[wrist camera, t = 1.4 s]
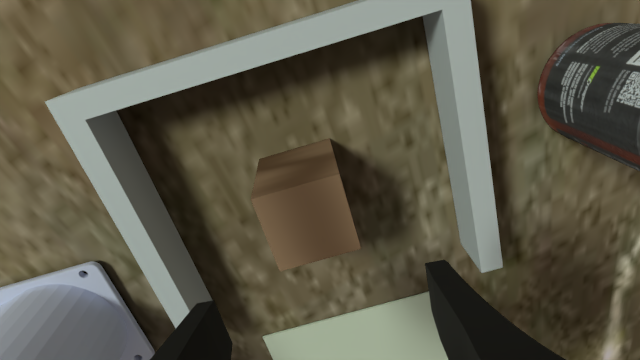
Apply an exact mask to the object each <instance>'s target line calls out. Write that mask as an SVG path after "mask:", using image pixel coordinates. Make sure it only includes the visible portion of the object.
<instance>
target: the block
mask: <svg viewBox="0 0 640 360" xmlns="http://www.w3.org/2000/svg"><path fill="white" fill-rule="evenodd" d="M251 201H252V204H253V206H254V209H255V211H256V214H257V216H258V218H259V221H260V223H261V226H262V228H263V231H264V233H265V236H266V238H267V241H268V243H269V246H270V248H271V251H272V253H273V255H274V258H275V260H276V263H277V265H278V268H279V270H280V271H283V270H286V269H290V268H294V267H297V266H301V265H304V264H308V263H312V262H315V261H319V260H322V259H326V258H330V257H333V256H337V255H340V254H344V253H347V252H351V251H355V250H358V249H361V246H360V243H359V239H358V236H357V232H356V228H355V225H354V221H353V218H352V214H351V210H350V207H349V203H348V200H347V196H346V193H345V190H344V186H343V183H342V179H341V176H340V172H339V169H338V166H337V162H336V159H335V155H334V152H333V149H332V145H331V142H330V138H329V139H326V140H322V141H319V142H315V143H312V144H309V145H305V146H302V147H298V148H295V149H292V150H288V151H285V152H282V153H278V154H275V155H271V156H268V157H265V158H261V159H259V163H258V168H257V173H256V177H255V182H254V187H253V191H252V196H251Z"/></svg>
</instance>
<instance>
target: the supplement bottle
mask: <svg viewBox="0 0 640 360" xmlns="http://www.w3.org/2000/svg"><path fill="white" fill-rule="evenodd" d="M537 95H538V104H539V108H540V111H541V113H542V116H543V118H544V119H545V121H546V122H547V123H548V125H549V126H550V127H551V128H552V129H554V130H555V131H557V132H559V133H560V134H562V135H564V136H566V137H567V138H569V139H572V140H574V141H576V142H578V143H580V144H582V145H585V146H587V147H589V148H591V149H593V150H595V151H597V152H600V153H602V154H604V155H606V156H608V157H610V158H612V159H614V160H617V161H619V162H621V163H623V164H625V165H628V166H630V167H632V168H634V169H636V170H638V171H640V24H630V23H604V24H598V25H594V26H591V27H588V28H585V29H583V30H581V31H579V32H577V33H576V34H574V35H572V36H571V37H569V38H568V39H567V40H565V41H564V42H563V43H562V44H561V45H560V46H559V47H558V48H557V49H556V50H555V52H554V53H553V54H552V56H551V57H550V58H549V60H548V62H547V63H546V65H545V67H544V69H543V72H542V74H541V77H540V81H539V86H538V94H537Z"/></svg>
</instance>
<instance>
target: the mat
mask: <svg viewBox="0 0 640 360" xmlns="http://www.w3.org/2000/svg"><path fill="white" fill-rule="evenodd" d="M263 339H264V341H265V343H266V345H267V348H268V350H269V352H270V354H271V356H272V358H273V360H448V357H447V355H446V352H445V350H444V348H443V345H442V343H441V340H440V337H439V334H438V331H437V328H436V324H435V321H434V317H433V314H432V311H431V303H430V296H429V291H428V292H425V293H421V294H417V295H414V296H410V297H406V298H402V299H399V300H395V301H391V302H388V303H384V304H380V305H376V306H373V307H369V308H365V309H362V310H358V311H354V312H351V313H347V314H343V315H339V316H336V317H332V318H328V319H325V320H321V321H317V322H313V323H310V324H306V325H302V326H299V327H295V328H291V329H287V330H284V331H280V332H276V333H273V334H269V335H265V336H263Z"/></svg>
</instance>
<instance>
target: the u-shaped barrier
mask: <svg viewBox="0 0 640 360" xmlns="http://www.w3.org/2000/svg"><path fill="white" fill-rule="evenodd" d="M420 16H423V22H424V28H425V34H426V40H427V45H428V51H429V57H430V63H431V69H432V75H433V81H434V87H435V93H436V99H437V105H438V111H439V116H440V122H441V128H442V134H443V140H444V146H445V152H446V158H447V164H448V170H449V176H450V182H451V187H452V193H453V199H454V205H455V211H456V217H457V223H458V229H459V235H460V241H461V244H462V246H463V247H464V249H465V250H466V252H467V253H468V254H469V256H470V257H471V259H472V260H473V261H474V263H475V264H476V266H477V267H478V269H479V270H480V271H481V273H484V272H488V271H491V270H495V269H499V268H502V267H503V263H502V255H501V247H500V239H499V230H498V222H497V214H496V206H495V197H494V189H493V181H492V173H491V164H490V156H489V148H488V140H487V131H486V123H485V115H484V107H483V98H482V90H481V82H480V74H479V65H478V57H477V49H476V41H475V32H474V24H473V16H472V8H471V0H358V1H355V2H352V3H349V4H345V5H342V6H339V7H336V8H333V9H329V10H326V11H323V12H320V13H317V14H314V15H310V16H307V17H304V18H301V19H298V20H294V21H291V22H288V23H285V24H282V25H279V26H275V27H272V28H269V29H266V30H263V31H259V32H256V33H253V34H250V35H247V36H243V37H240V38H237V39H234V40H231V41H228V42H224V43H221V44H218V45H215V46H212V47H208V48H205V49H202V50H199V51H196V52H193V53H189V54H186V55H183V56H180V57H177V58H173V59H170V60H167V61H164V62H161V63H158V64H154V65H151V66H148V67H145V68H142V69H138V70H135V71H132V72H129V73H126V74H122V75H119V76H116V77H113V78H110V79H107V80H103V81H100V82H97V83H94V84H91V85H87V86H84V87H81V88H78V89H76V90H73V91H71V92H68V93H65V94H63V95H60V96H58V97H55V98H53V99H50V100H48V101H45V103H46V105H47V106H48V108H49V110H50V112H51V113H52V115H53V117H54V118H55V120H56V122H57V124H58V125H59V127H60V129H61V131H62V132H63V134H64V136H65V138H66V139H67V141H68V143H69V144H70V146H71V148H72V150H73V151H74V153H75V155H76V157H77V158H78V160H79V162H80V163H81V165H82V167H83V169H84V170H85V172H86V174H87V176H88V177H89V179H90V181H91V183H92V184H93V186H94V188H95V189H96V191H97V193H98V195H99V196H100V198H101V200H102V202H103V203H104V205H105V207H106V209H107V210H108V212H109V214H110V215H111V217H112V219H113V221H114V222H115V224H116V226H117V228H118V229H119V231H120V233H121V235H122V236H123V238H124V240H125V241H126V243H127V245H128V247H129V248H130V250H131V252H132V254H133V255H134V257H135V259H136V261H137V262H138V264H139V266H140V267H141V269H142V271H143V273H144V274H145V276H146V278H147V280H148V281H149V283H150V285H151V287H152V288H153V290H154V292H155V293H156V295H157V297H158V299H159V300H160V302H161V304H162V306H163V307H164V309H165V311H166V313H167V314H168V316H169V318H170V319H171V321H172V323H173V325H174V326H175V328H177V327H178V325H179V324H180V323H181V322H182V320H183V319H184V318H185V317H186V316H187V314H188V313H189V312H190V311H191V309H192V308H193V307H194V306H195V305H196V304H197V303H201V302H207V301H213V300H212V298H211V296H210V294H209V292H208V290H207V288H206V286H205V284H204V283H203V281H202V279H201V277H200V275H199V273H198V271H197V269H196V267H195V265H194V263H193V261H192V259H191V257H190V255H189V253H188V251H187V249H186V247H185V245H184V243H183V241H182V239H181V237H180V235H179V233H178V231H177V229H176V227H175V225H174V223H173V221H172V219H171V217H170V216H169V214H168V212H167V210H166V208H165V206H164V204H163V202H162V200H161V198H160V196H159V194H158V192H157V190H156V188H155V186H154V184H153V182H152V180H151V178H150V176H149V174H148V172H147V170H146V168H145V166H144V164H143V162H142V160H141V158H140V156H139V154H138V152H137V151H136V149H135V147H134V145H133V143H132V141H131V139H130V137H129V135H128V133H127V131H126V129H125V127H124V125H123V123H122V121H121V119H120V117H119V115H118V113H117V111H116V110H119V109H122V108H125V107H129V106H132V105H135V104H138V103H141V102H145V101H148V100H151V99H154V98H158V97H161V96H164V95H167V94H171V93H174V92H177V91H180V90H184V89H187V88H190V87H193V86H196V85H200V84H203V83H206V82H209V81H213V80H216V79H219V78H222V77H226V76H229V75H232V74H235V73H239V72H242V71H245V70H248V69H252V68H255V67H258V66H261V65H264V64H268V63H271V62H274V61H277V60H281V59H284V58H287V57H290V56H294V55H297V54H300V53H303V52H307V51H310V50H313V49H316V48H319V47H323V46H326V45H329V44H332V43H336V42H339V41H342V40H345V39H349V38H352V37H355V36H358V35H362V34H365V33H368V32H371V31H375V30H378V29H381V28H384V27H387V26H391V25H394V24H397V23H400V22H404V21H407V20H410V19H413V18H417V17H420Z"/></svg>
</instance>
